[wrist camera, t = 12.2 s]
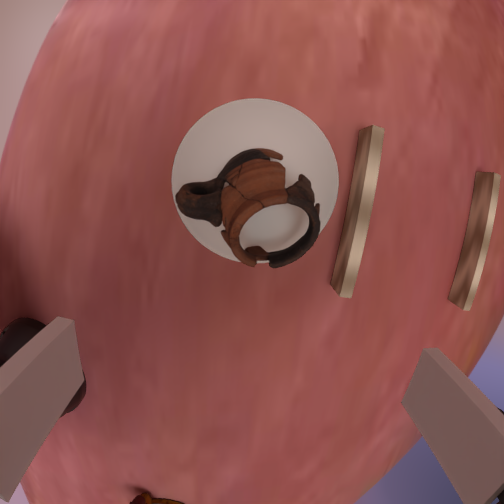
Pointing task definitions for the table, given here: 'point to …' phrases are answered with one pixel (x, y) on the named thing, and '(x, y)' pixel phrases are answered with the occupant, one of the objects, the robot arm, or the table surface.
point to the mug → (151, 500)
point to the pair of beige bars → (361, 212)
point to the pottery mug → (251, 203)
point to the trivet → (279, 140)
